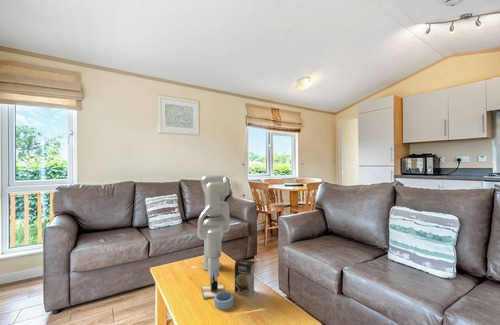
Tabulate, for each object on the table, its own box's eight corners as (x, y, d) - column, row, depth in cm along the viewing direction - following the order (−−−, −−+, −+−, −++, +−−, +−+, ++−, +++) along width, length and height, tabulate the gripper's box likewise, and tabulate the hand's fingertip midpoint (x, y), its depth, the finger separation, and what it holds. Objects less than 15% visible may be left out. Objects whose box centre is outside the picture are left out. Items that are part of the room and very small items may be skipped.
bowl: (213, 301, 117) (213, 293, 117) (230, 298, 119) (230, 290, 119) (215, 312, 108) (215, 303, 108) (235, 308, 111) (235, 300, 111)
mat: (201, 288, 128) (201, 287, 128) (223, 285, 132) (223, 284, 132) (203, 301, 117) (203, 299, 117) (227, 297, 120) (227, 295, 120)
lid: (202, 287, 128) (202, 275, 128) (222, 284, 131) (222, 272, 131) (204, 299, 117) (204, 285, 117) (226, 295, 121) (226, 282, 121)
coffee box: (234, 293, 123) (234, 263, 123) (238, 287, 130) (238, 258, 130) (250, 297, 120) (250, 265, 120) (254, 290, 126) (254, 260, 126)
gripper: (205, 248, 131) (205, 281, 131) (208, 260, 115) (208, 297, 115) (218, 246, 133) (218, 279, 133) (223, 258, 118) (223, 295, 118)
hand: (213, 287), depth 124 cm, fingers closed on lid, 3 cm apart
